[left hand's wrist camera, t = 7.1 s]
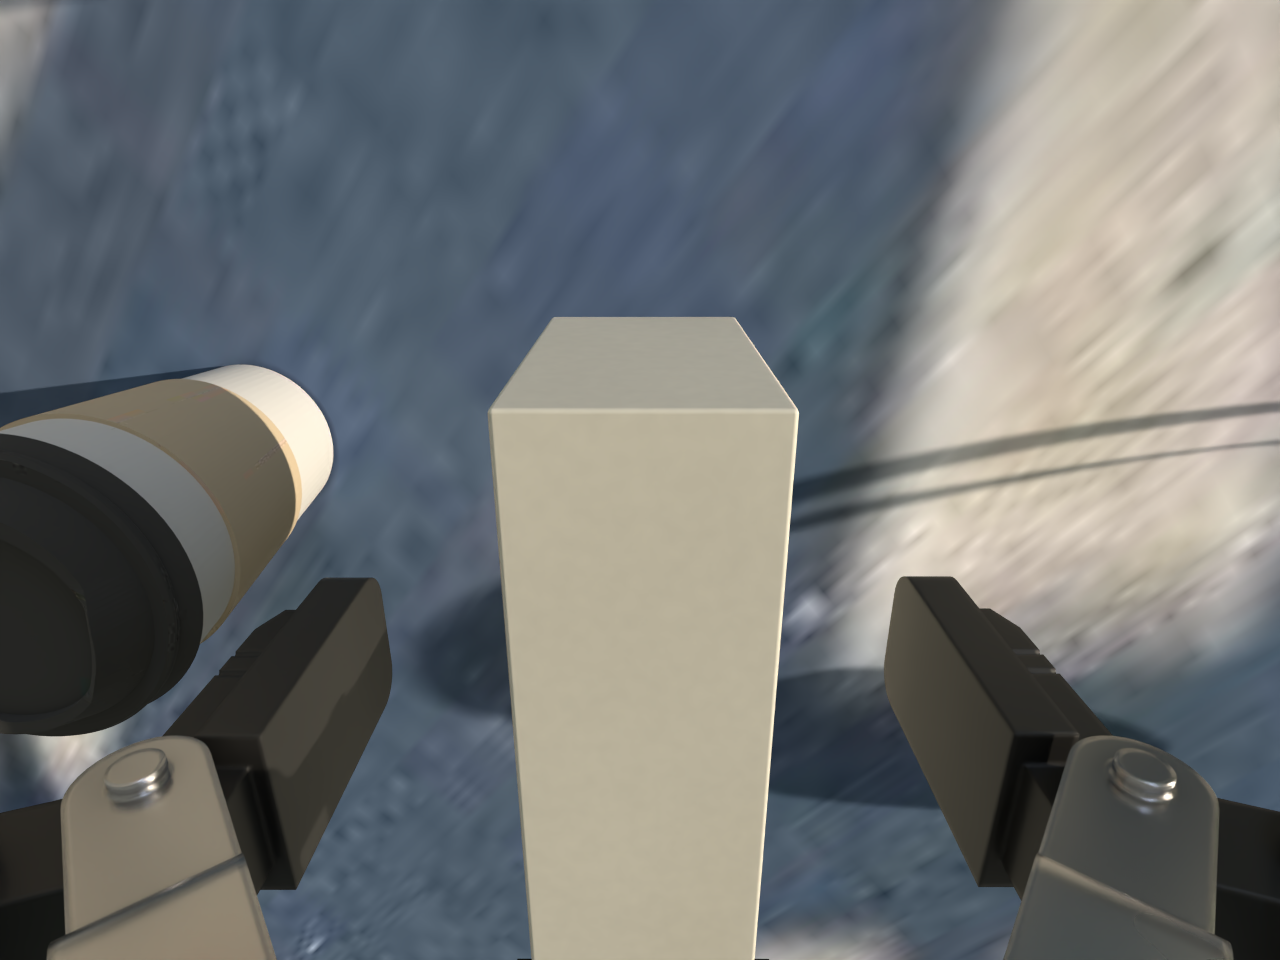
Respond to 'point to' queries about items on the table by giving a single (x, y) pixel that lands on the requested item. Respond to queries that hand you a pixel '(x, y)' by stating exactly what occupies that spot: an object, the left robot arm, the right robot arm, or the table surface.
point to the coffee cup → (141, 535)
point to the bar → (643, 629)
